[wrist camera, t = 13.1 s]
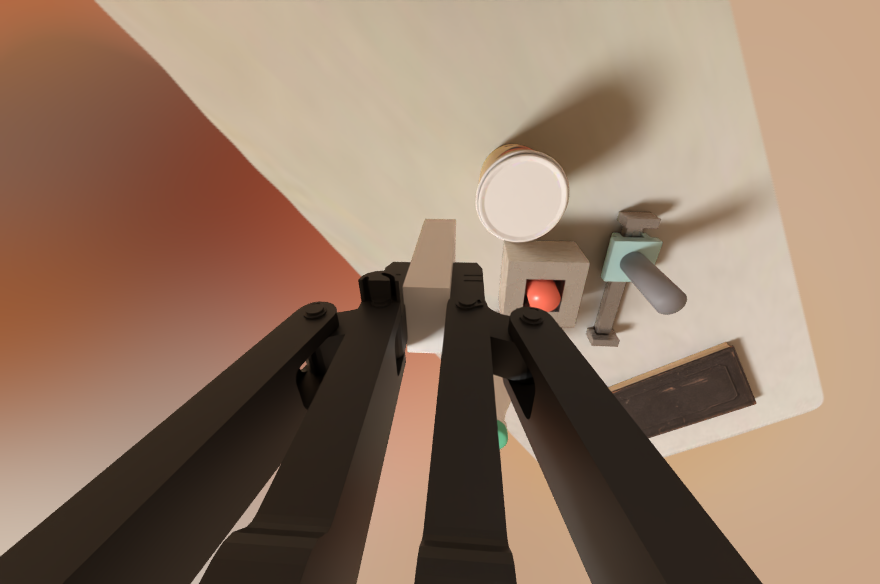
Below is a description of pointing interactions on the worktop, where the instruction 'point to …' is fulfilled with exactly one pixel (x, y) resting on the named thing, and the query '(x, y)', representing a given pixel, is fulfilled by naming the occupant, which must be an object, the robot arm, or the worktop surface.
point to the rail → (614, 290)
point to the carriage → (642, 271)
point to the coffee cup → (521, 193)
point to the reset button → (542, 294)
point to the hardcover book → (686, 391)
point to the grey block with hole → (543, 275)
